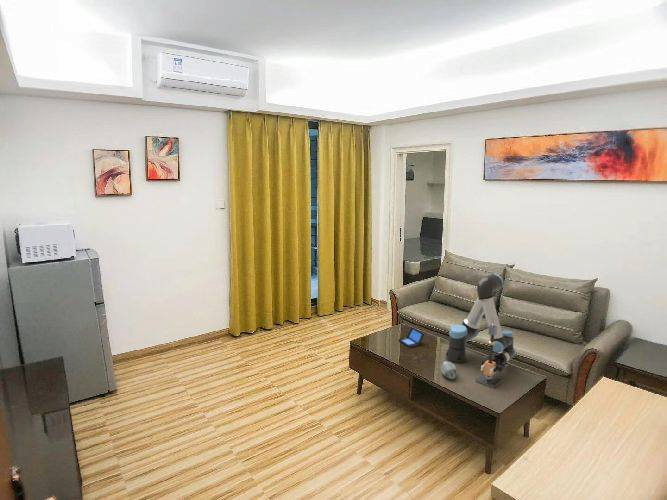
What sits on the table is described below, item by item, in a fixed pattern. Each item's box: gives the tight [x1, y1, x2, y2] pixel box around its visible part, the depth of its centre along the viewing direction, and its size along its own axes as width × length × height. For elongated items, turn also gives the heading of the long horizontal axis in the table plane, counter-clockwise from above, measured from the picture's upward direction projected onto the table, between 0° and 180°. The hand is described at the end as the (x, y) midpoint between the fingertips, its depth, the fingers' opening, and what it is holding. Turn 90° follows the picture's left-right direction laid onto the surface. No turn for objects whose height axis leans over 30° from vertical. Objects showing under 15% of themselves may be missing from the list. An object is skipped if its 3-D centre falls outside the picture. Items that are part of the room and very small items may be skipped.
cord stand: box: [474, 323, 503, 389], centre depth 257 cm, size 12×12×39 cm
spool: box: [440, 360, 457, 380], centre depth 267 cm, size 14×10×10 cm
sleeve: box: [483, 360, 496, 377], centre depth 259 cm, size 5×5×8 cm
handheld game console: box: [398, 327, 425, 349], centre depth 317 cm, size 16×13×9 cm
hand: (485, 370), depth 255 cm, fingers closed on sleeve, 5 cm apart
